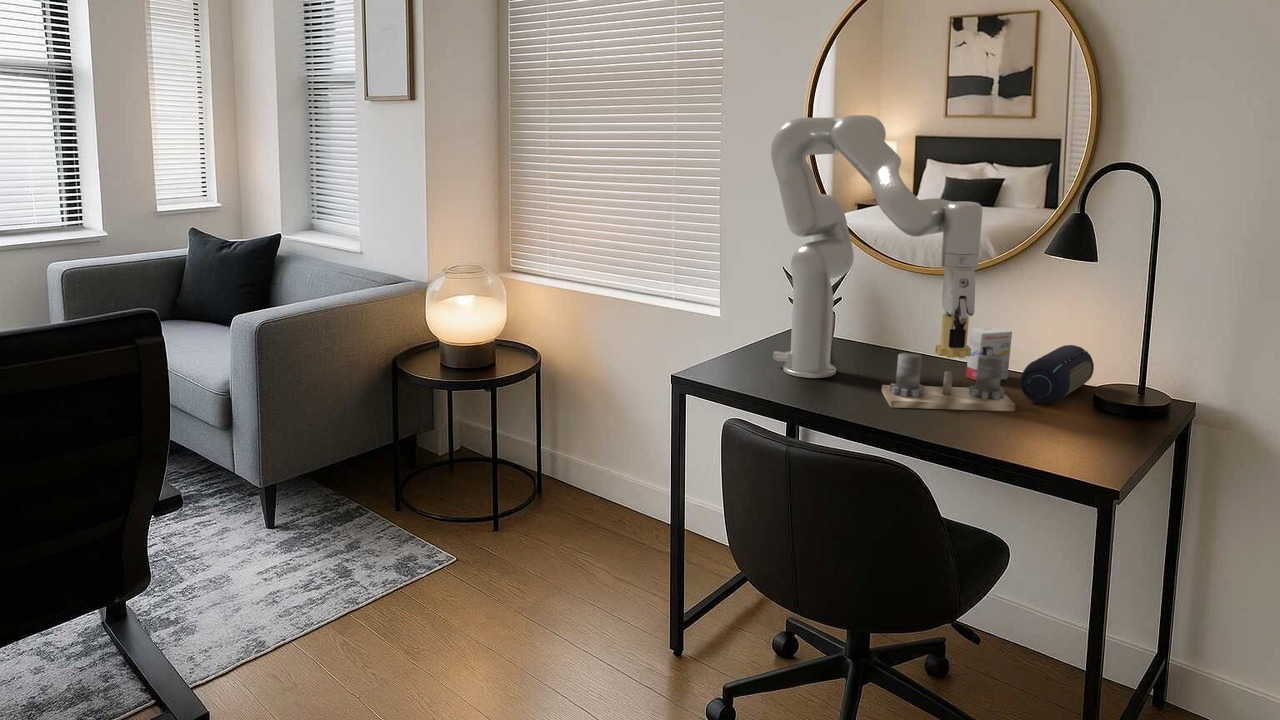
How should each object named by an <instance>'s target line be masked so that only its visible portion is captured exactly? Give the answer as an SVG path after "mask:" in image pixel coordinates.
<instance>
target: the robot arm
mask: <svg viewBox="0 0 1280 720" xmlns="http://www.w3.org/2000/svg"><path fill="white" fill-rule="evenodd" d="M886 135H887V133H886V129H885V126H884V124H883V122H881V120H880V119H878V118H877V117H876V116H873V115H870V114H869V115H868V114H863V115H861V114H859V115H858V114H855V115H854V114H851V115H847V116H843V117H841V116H838V117H837V116H836V117H835V116H834V117H831V116H830V117H829V116H828V117H798V118H797V117H796V118H794V119H791V120H789V121H787V122H786V123H784V124H782V126H781V127H779V129H778V130H777V131H776V133H775V135H774V137H773V140H772V143H771V148H770V149H771V151H770V155H771V157H770V158H771V163H772V166H773V170H774V173H775V177H776V180H777V183H778V187H779V193H780V197H781V202H782V205H783V209H784V215H785V218H786V223H787V226H788V229H789V230H790V232H791V233H792V234H793V235H794V236H795V237H796V236H797V237H801V238H807V237H808V238H809V237H813V240H814V241H809V242H806V243H804V244H801V246H799V247H798V248H797V249H796V250H795V251H794V252H793V254H792V258H791V260H790V261H791V262H790V271H791V278H792V295H793V296H792V316H791V334H790V335H791V336H790V350H789V351H786V352H782V351H777V350H776V351H775V350H774V351H773V354H772V355H773V356H772V358H773V359H774V360H775V361H776V362H784V363H785V364H783V372H784V373H785V374H788V375H790V376H794V377H799V378H804V379H805V378H806V379H823V378H829V377H833V376H835V374H836V373H837V368H836V366H834V365H833V364H831V351H832V335H833V333H832V332H833V320H834V319H833V317H834V293H833V287H832V284H831V280H832V279H835V278H840V277H842V276H844V275H846V274H847V273H848V272H849V271H850V270H851V269H852V267H853V263H854V257H855V256H854V248H853V243H852V239H851V235H850V230H849V226H848V223H847V219H846V218H847V217H846V214H845V211H844V208H843V207H842V204H841V203H840V201H839V200H837V198H835V197H834V196H833V195H830V194H825V193H822V194H820V193H819V190H818V187H817V182H816V177H815V175H814V172H813V170H812V168H811V166H810V164H809V163H808V160H807V158H806V157H808V156H815V155H816V156H817V155H833V154H834V155H837V154H838V155H842V156H843V157H844V159H846V161H847V162H848V163H850V165H851V166H852V167H853V168H854V169H855V170H856V171H857V172H858V173H859V174H860V175H861V177H863V179H865V180H866V181H867V183H868V184H869V185H870V187H871V188H870V189H871V191H872V192H871V193H872V194H873V196H874V199H875V201H876V204H877V206H878V207H879V208H880V210H881V211H882V212H883V214H884V215H885V216H886V217H887V218H888V219H889V220H890V221H891V222H892V223H893V224H894V226H896V227H897V228H898V229H899V231H901V232H903V233H904V234H905V235H907V236H910V237H917V238H918V237H924V236H928V235H934V234H939V233H942V247H941V259H940V268H942V269H944V275H943V283H942V284H943V285H942V293H941V307H942V309H943V310H944V311H945V312H944V314H947V313H949V314H950V315H952V329H950V335H949V347H950V348H964V346H965V335H966V320H967V316H969V317H972V316H974V314H975V307H976V306H975V304H976V271H975V270H978V269H979V259H980V248H981V247H980V246H981V234H982V224H983V222H982V221H983V207H982V205H981V204H980V203H979V202H974V201H952V200H946V199H943V198H936V197H934V198H933V197H932V198H925V199H924V198H923V199H919V198H918V196H916V195H915V194H914V193H913V192H912V191H911V190H910V189H909V188H908V186H907V185H906V184H905V183H904V181H903V180H902V178H901V175H900V167H901V166H902V158H901V157H900V155H899V154H898V153H897V152H896V151H895V150H894V149H893V148H892V147H891V146H890V145H889V144H888V143H887V142H886V141H885V140H886V138H887V137H886ZM956 313H959V315H955V314H956ZM955 318H959V319H957V320H956V323H955Z"/></svg>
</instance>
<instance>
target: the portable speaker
mask: <svg viewBox="0 0 1280 720" xmlns="http://www.w3.org/2000/svg"><path fill="white" fill-rule="evenodd" d="M1094 369H1095V365H1094V360H1093V358H1092V355H1091V354H1090V353H1089V352H1088V351H1087V350H1086V349H1084V348H1083V347H1081V346H1078V345H1074V344H1068V345H1062V346H1059V347H1058V348H1056V349H1054V350H1052V351H1049V352H1048V353H1045V355H1042V356H1041V357H1039V358H1037V359H1035V360H1034V361H1031V362H1030V363H1029V364H1027V366H1026V367H1025V368H1024V370H1023V371H1022V373H1021V375H1020V378H1019V385H1020V389H1021V391H1022V393H1023V395H1024V396H1025V397H1026V398H1027V399H1028V400H1030V401H1031V402H1034V403H1037V404H1041V405H1047V404H1055V403H1057V402H1058V401H1061V400H1062V399H1064V398H1065V397H1066V396H1068V395H1069V394H1071V393H1073V392H1074V391H1076V390H1078V388H1081V387H1082V386H1084V385H1085V384H1086V383H1087V382H1089V380H1090V379H1091V378H1092V376H1093V375H1094Z"/></svg>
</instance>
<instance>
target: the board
mask: <svg viewBox="0 0 1280 720" xmlns="http://www.w3.org/2000/svg"><path fill="white" fill-rule="evenodd" d="M922 359H923V356H922V355H921V354H917V353H912V352H902V353H899V354H897V364H896V365H897V366H896V377H895V383H890V384H882V385H881V393H882V395H883V396H884V399H885V401H886V402H887V403H888V405H889V407H890V408H897V409H898V408H899V409H901V408H904V409H927V410H928V409H931V410H933V409H935V410H958V411H960V410H961V411H963V410H964V411H988V412H989V411H990V412H991V411H992V412H993V411H994V412H1015V410H1016V403H1014V402H1013V401H1012V399H1010V397H1009V396H1008V395H1006V390H1005V389H1004V387H1002V386H1001V381H1002V379H1001V372H1002V363H1003V359H1002V358H1001V357H997V356H991V355H982V356H979V357H978V367H977V377H976V380H975V383H974V385H970V386H969V387H967V386H966V387H965V386H964V387H959V386H958V387H957V386H952V385H953V378H954V377H953V376H954V372H953V371H944V373H943V383H942V386H929V385H928V386H927V385H923V384H920V382H921V370H922V361H923V360H922Z"/></svg>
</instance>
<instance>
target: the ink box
mask: <svg viewBox="0 0 1280 720" xmlns="http://www.w3.org/2000/svg"><path fill="white" fill-rule="evenodd" d="M1012 337H1013V331H1011V330H1008V329H1005V328H1002V327H984V328H983V327H982V328H972V329H969V341H968V342H969V343H968V346H969V348H971V355H970V356H967V364H966V371H965V372H966V373H965V377H966V378H968V379H971V380H973V381H976V377H977V367H978V357H979V356H982V355H991V356H997V357H1001V358H1002V359H1003V363H1002V372H1001V380H1007V379H1008V376H1009V366H1010V356H1011V348H1012V347H1011V346H1012Z"/></svg>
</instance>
